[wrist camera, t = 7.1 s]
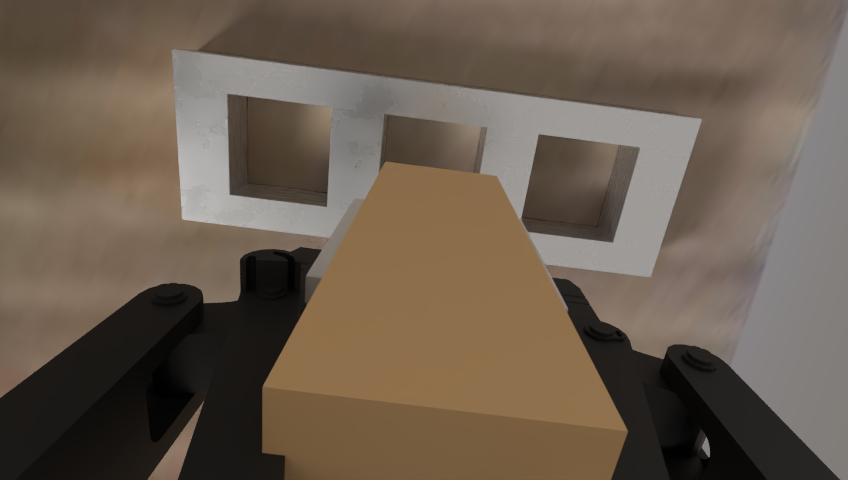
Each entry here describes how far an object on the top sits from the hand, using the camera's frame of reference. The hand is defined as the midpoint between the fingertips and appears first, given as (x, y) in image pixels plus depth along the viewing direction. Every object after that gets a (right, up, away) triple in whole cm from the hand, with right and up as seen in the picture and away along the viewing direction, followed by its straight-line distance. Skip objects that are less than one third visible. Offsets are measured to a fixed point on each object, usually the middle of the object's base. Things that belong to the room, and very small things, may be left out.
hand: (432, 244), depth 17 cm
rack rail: (0, +5, +14) cm, 15 cm away
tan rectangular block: (0, +1, +3) cm, 3 cm away
